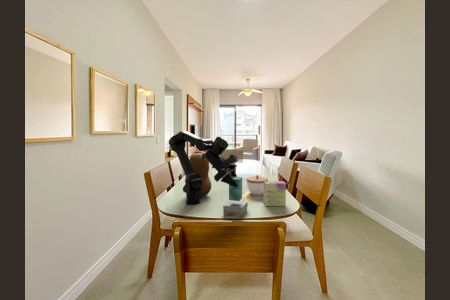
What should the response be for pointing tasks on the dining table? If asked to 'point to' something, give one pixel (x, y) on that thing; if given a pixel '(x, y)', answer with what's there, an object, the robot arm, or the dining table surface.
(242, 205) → the tower top slab
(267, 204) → the box
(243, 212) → the tower bottom slab
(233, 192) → the teal block
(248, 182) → the lidded bowl
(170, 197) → the dining table surface
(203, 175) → the butternut squash
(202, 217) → the dining table surface
